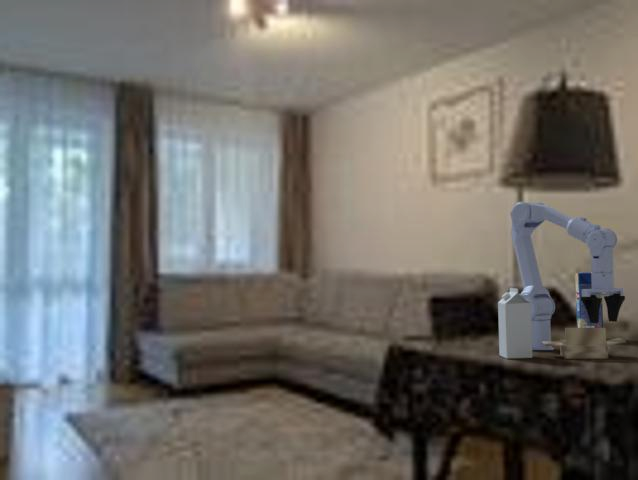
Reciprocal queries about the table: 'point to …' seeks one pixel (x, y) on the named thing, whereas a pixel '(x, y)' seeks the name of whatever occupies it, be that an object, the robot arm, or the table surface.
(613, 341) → the flap
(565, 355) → the carton
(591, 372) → the table surface
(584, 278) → the beverage box
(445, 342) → the table surface
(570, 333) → the flap
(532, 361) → the table surface
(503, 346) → the milk carton
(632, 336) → the table surface
